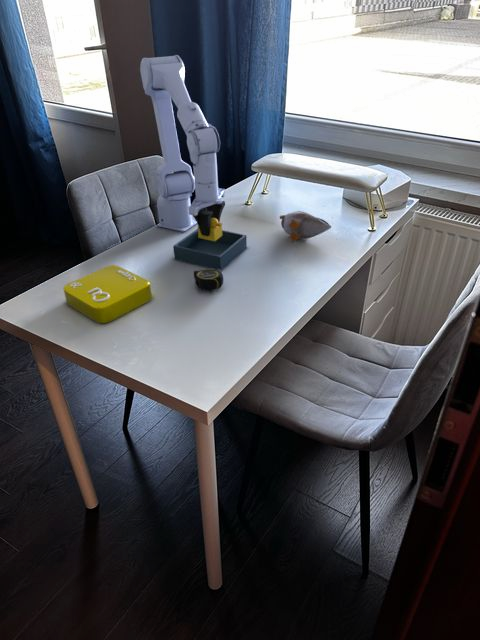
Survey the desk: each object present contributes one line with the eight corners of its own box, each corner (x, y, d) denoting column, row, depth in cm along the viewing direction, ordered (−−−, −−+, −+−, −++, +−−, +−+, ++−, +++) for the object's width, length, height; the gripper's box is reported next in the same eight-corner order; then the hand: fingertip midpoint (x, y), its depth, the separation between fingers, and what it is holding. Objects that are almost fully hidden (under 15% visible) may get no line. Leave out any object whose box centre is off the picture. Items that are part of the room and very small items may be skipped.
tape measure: (221, 278, 125) (221, 265, 123) (225, 292, 120) (224, 278, 118) (194, 281, 125) (193, 267, 122) (196, 295, 119) (195, 281, 117)
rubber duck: (198, 237, 133) (196, 218, 129) (206, 232, 136) (204, 212, 132) (218, 242, 131) (216, 222, 127) (225, 236, 133) (224, 216, 130)
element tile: (155, 298, 118) (153, 280, 115) (102, 326, 109) (97, 308, 106) (116, 278, 126) (113, 261, 123) (63, 302, 117) (58, 285, 114)
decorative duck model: (280, 202, 148) (331, 201, 147) (280, 227, 152) (330, 227, 151) (276, 217, 136) (332, 217, 134) (276, 244, 140) (331, 244, 138)
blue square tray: (174, 259, 134) (173, 245, 131) (202, 238, 144) (201, 225, 141) (220, 270, 129) (220, 256, 126) (246, 248, 139) (246, 235, 136)
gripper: (204, 192, 118) (208, 245, 126) (234, 173, 128) (236, 224, 136) (179, 187, 120) (184, 240, 128) (210, 169, 130) (213, 219, 139)
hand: (209, 231), depth 132 cm, fingers closed on rubber duck, 4 cm apart
